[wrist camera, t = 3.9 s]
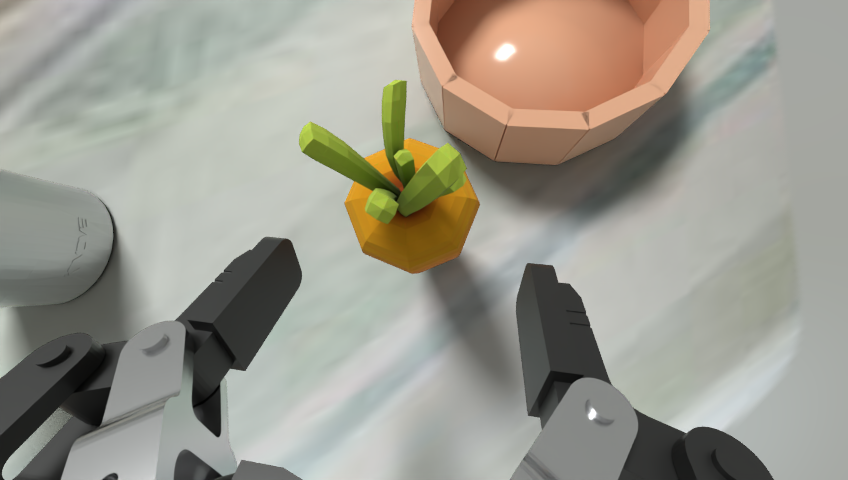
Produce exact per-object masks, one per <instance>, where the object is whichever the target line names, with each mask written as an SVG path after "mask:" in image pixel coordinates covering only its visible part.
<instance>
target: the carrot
mask: <svg viewBox="0 0 848 480" xmlns="http://www.w3.org/2000/svg"><path fill="white" fill-rule="evenodd" d="M405 108H406V81H402V80H394V81H393V82H391V83H390V84H389V85H387V86H386V87H384V89H383V98H382V127H383V139H384V146H385V149H384V150H382V151H379V152H377V153H375V154H373V155H370V156H368V157H366V158H363V157H361V156H360V155H359V154H358V153H357V152H356V151H354V150H353V149H352V148H351V147H350V146H348V145H347V144H346V143H345V142H344V141H342V140H341V139H339V138H338V137H336V136H335V135H333V134H332V133H330V132H329V131H327V130H326V129H324V128H322V127H320V126H318V125H316V124H314V123H312V122H309V123H308V124H307V125H305V126H304V127H303V129H302V131H301V133H300V137H299V145H300V147H301V150H302V152H303V153H304V154H306V155H308V156H309V157H311V158H312V159H314V160H316V161H318V162H320V163H322V164H323V165H325V166H327V167H329V168H331V169H333V170H335V171H337V172H339V173H340V174H342V175H344V176H346V177H348V178H350V179H351V180H353V181H354V183H353V185H352V187H351V190H350V192H349V194H348V196H347V199H346V201H345V207H346V209H347V212H348V214H349V217H350V220H351V222H352V225H353V228H354V230H355V233H356V235H357V238H358V241H359V243H360V246H361V249H362V251H363V253H365V254H366V255H369V256H371V257H373V258H376V259H378V260H381V261H383V262H385V263H388V264H390V265H393V266H395V267H397V268H400V269H402V270H404V271H407V272H409V273H412V274H415V273H420V272H423V271H426V270H428V269H430V268H433V267H435V266H438V265H440V264H442V263H445V262H447V261H450V260H452V259H454V258H457V257H458V256H459V255H460V253H461V251H462V248H463V246H464V243H465V241H466V238H467V236H468V233H469V231H470V228H471V226H472V223H473V221H474V218H475V216H476V213H477V211H478V208H479V206H480V203H479V201H478V198H477V196H476V194H475V192H474V190H473V187H472V185H471V183H470V181H469V179H468V177H467V174H466V172H465V170H466V169H467V168H466V166H465V163H464V161H463V159H462V157H461V155H460V153H459V152H458V151H457V150H455V149H454V148H453V147H452V146H451V145H450V144H448V143H447V144H445V145H444V146H442V147H441V148H436V147H434V146H431V145H428V144H425V143H422V142H419V141H417V140H414V139H411V138H409V139H407V140H404V126H405Z"/></svg>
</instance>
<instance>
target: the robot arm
mask: <svg viewBox="0 0 848 480" xmlns="http://www.w3.org/2000/svg"><path fill="white" fill-rule="evenodd" d="M112 243H113V226H112V222H111V218H110V215H109V213H108V211H107V209H106V207H105V205H104V204H103V203H102V202H101V201H100V200H99V199H98V198H97V197H96V196H95V195H93V194H91V193H90V192H88V191H85V190H82V189H79V188H75V187H71V186H67V185H63V184H58V183H54V182H50V181H46V180H42V179H38V178H34V177H29V176H25V175H21V174H17V173H14V172H10V171H6V170H2V169H0V308H3V307H18V306H34V305H50V304H60V303H64V302H67V301H70V300H73V299H75V298H76V297H78V296H80V295H81V294H83V293H84V292H85V291H87V290H88V289H89V288H90V287H91V286H92V285H93V284H94V283H95V282H96V280H97V279H98V278H99V277H100V275H101V274H102V272H103V270H104V268H105V266H106V265H107V263H108V260H109V257H110V253H111V250H112ZM301 279H302V271H301V268H300V265H299V262H298V259H297V256H296V253H295V250H294V247H293V244H292V242H291V241H290V240H289V239H284V238H274V237H265V238H263V239H262V240H261V241H260V242H259V243H258V244H257V245H256V246H255V247H254V248H253V250H249V251H247V252H245V253H244V254H242V255H241V256H239V257H237V258H236V259H234V260H233V261H232V262H231V263H230V264H229V265H228V267H227V268H226V269H225V270H224V272H223V273H221V274H220V275H219V276H218V277H217V278H216V279H215V282H212V283H211V284H210V285H209V286H208V287H207V288H206V289H205V290H204V291H203V292H202V293H201V294H200V295H199V296H198V298H197V299H196V300H195V301H194V302H193V303H192V304H191V305H190V306H189V307H188V308H187V309H186V310H185V311H184V312H183V313H182V314H181V315H180V316H179V317H178V318H177V319H176V320H175V321H164V322H160V323H157V324H154V325H151V326H149V327H147V328H145V329H144V330H142V331H140V332H139V333H137V334H136V335H135V336H134V337H132V338H131V339H130V340H129V341H122V342H116V343H109V344H103V345H100V344H99V343H97V342H96V341H95V340H94V339H93V338H92V337H91V336H89V335H88V334H84V333H75V334H70V335H66V336H63V337H60V338H57V339H55V340H53V341H51V342H49V343H47V344H45V345H43V346H41V347H40V348H38V349H37V350H35V351H34V352H33V353H31V354H30V355H29V356H27V357H26V358H25V359H24V360H23V361H21V362H20V363H19V364H18V365H16V366H15V367H14V368H13V369H12V370H10V371H9V372H8V373H7V374H5V375H4V376H3V377H2V378H1V379H0V480H4V479H3V477H2V469H3V467H4V464H5V463H6V461H7V460H8V458H9V457H10V456H11V455H12V454H13V453H14V452H15V451H16V450H17V449H18V448H19V447H20V446H21V445H22V444H23V443H24V442H25V441H26V440H27V439H28V438H29V437H30V436H31V435H32V434H33V433H34V432H35V431H36V430H37V429H38V428H39V427H40V426H41V425H42V424H43V423H44V422H45V421H46V420H47V418H48V417H49V416H50V415H51V414H52V413H53V412H54V411H55V410H56V409H57V408H58V407H59V408H61V409H62V410H64V411H66V412H67V413H69V414H71V415H72V416H73V417H72V418H71V419H70V420H69V421H68V422H67V423H66V424H65V425H64V426H63V428H62V429H61V430H60V431H59V432H58V433H57V434H56V435H55V436H54V437H53V438H52V439H51V440H50V441H49V443H48V444H47V445H46V446H45V447H44V448H43V449H42V450H41V451H40V452H39V453H38V454H37V455H36V456H35V458H34V459H33V460H32V461H31V462H30V463H29V464H28V465H27V466H26V467H25V468H24V469H23V470H22V471H21V473H20V474H19V475H18V476H17V477H15V478H14V479H13V480H302V479H301V478H299V477H297V476H296V475H294V474H293V473H291V472H289V471H288V470H286V469H284V468H282V467H276V466H271V465H266V464H261V463H255V462H250V461H245V460H241V462H240V464H239V466H238V468H237V463H236V459H235V456H234V453H233V451H232V449H231V446H230V442H229V427H228V400H227V381H226V379H225V377H224V376H225V375H226V374H227V372H228V371H229V369H236V370H242V371H246V369H247V367H248V366H249V364H250V363H251V361H252V360H253V358H254V357H255V355H256V353H257V352H258V350H259V349H260V347H261V346H262V344H263V343H264V341H265V339H266V338H267V336H268V335H269V333H270V332H271V330H272V329H273V327H274V325H275V324H276V322H277V321H278V319H279V318H280V316H281V315H282V313H283V311H284V310H285V308H286V307H287V305H288V304H289V302H290V301H291V299H292V297H293V296H294V294H295V293H296V291H297V290H298V288H299V286H300V283H301ZM516 316H517V325H518V334H519V342H520V351H521V359H522V368H523V377H524V385H525V394H526V402H527V411H528V416H534V417H540V420H541V427H542V431H541V433H540V434H539V436H538V437H537V439H536V440H535V442H534V444H533V445H532V447H531V448H530V450H529V451H528V453H527V454H526V456H525V457H524V459H523V460H522V462H521V463H520V465H519V466H518V468H517V469H516V471H515V472H514V474H513V475H512V477H511V478H510V480H774V479H773V478H772V476H771V474H770V473H769V471H768V470H767V468H766V467H765V466H764V464H763V463H762V462H761V461H760V460H759V458H758V457H757V456H755V454H754V453H753V452H752V451H750V449H748V448H747V447H746V446H745V445H743V444H742V443H741V442H740V441H738V440H737V439H735V438H733V437H732V436H730V435H728V434H726V433H724V432H722V431H720V430H717V429H714V428H710V427H697V428H694V429H692V430H691V431H689V432H688V433H684V432H682V431H680V430H678V429H675V428H673V427H671V426H668V425H666V424H664V423H662V422H659V421H657V420H655V419H653V418H650V417H648V416H646V415H644V414H642V413H641V412H639V411H637V410H636V409H634V408H633V407H632V405H631V404H630V402H629V401H628V400H627V398H626V397H625V396H624V395H623V394H622V393H621V392H620V391H619V390H617V389H616V388H615V387H614V386H612V384H611V382H610V380H609V377H608V375H607V372H606V369H605V366H604V363H603V360H602V357H601V354H600V351H599V349H598V346H597V343H596V340H595V337H594V334H593V331H592V328H590V322H589V319H588V317H587V315H586V311H585V308H584V305H583V302H582V299H581V297H580V296H579V295H578V293H577V292H576V291H575V290H574V289H573V288H572V286H571V285H570V284H566V283H558V280H557V276H556V273H555V269H554V267H553V266H552V265H543V264H532V263H528V264H527V265H526V267H525V271H524V274H523V278H522V281H521V285H520V288H519V292H518V295H517V301H516Z"/></svg>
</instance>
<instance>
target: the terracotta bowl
mask: <svg viewBox="0 0 848 480" xmlns="http://www.w3.org/2000/svg"><path fill="white" fill-rule="evenodd" d="M709 30H710V0H415V3H414V12H413V20H412V31H413V37H414V43H415V49H416V55H417V61H418V67H419V73H420V79H421V83H422V85H423V87H424V89H425V91H426V93H427V95H428V97H429V99H430V101H431V103H432V105H433V107H434V109H435V111H436V113H437V115H438V117H439V119H440V121H441V123H442V125H443V128H444V129H445V130H446V131H447V132H449V133H450V134H452V135H453V136H455V137H457V138H458V139H460V140H461V141H463V142H465V143H466V144H468V145H469V146H471V147H473V148H474V149H476V150H477V151H479V152H480V153H482V154H484V155H485V156H487V157H488V158H490V159H492V160H493V161H494V160H495V161H498V162H515V163H532V164H548V165H557V164H558V165H559V164H561V163H563V162H565V161H567V160H569V159H572V158H574V157H576V156H578V155H580V154H582V153H585V152H587V151H589V150H591V149H593V148H596V147H598V146H600V145H602V144H604V143H606V142H609V141H611V140H613V139H615V138H616V137H617V136H618V135H619V134H621V133H622V132H623V131H624V130H625V129H626V128H627V127H629V126H630V125H631V124H632V123H633V122H634V121H635V120H637V119H638V118H639V117H640V116H641V115H642V114H644V113H645V112H646V111H647V110H648V109H649V108H650V107H652V106H653V105H654V104H655V103H656V102H657V101H658V100H660V99H661V98H662V97H663V96H664V95H665V94H666V93H667V92H668V90H669V89H670V87H671V86H672V84H673V83H674V82H675V80H676V79H677V77H678V76H679V74H680V73H681V71H682V70H683V69H684V67H685V66H686V64H687V63H688V61H689V60H690V58H691V57H692V56H693V54H694V53H695V51H696V50H697V48H698V47H699V45H700V44H701V43H702V41H703V40H704V38H705V37H706V35H707V34H708V33H709Z"/></svg>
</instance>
